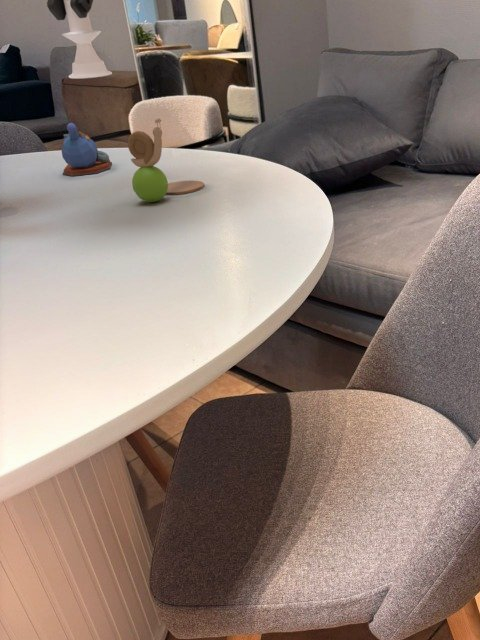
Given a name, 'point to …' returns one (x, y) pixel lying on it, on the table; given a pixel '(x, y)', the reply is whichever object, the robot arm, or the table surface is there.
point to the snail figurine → (148, 165)
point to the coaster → (184, 187)
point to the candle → (83, 47)
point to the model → (82, 154)
